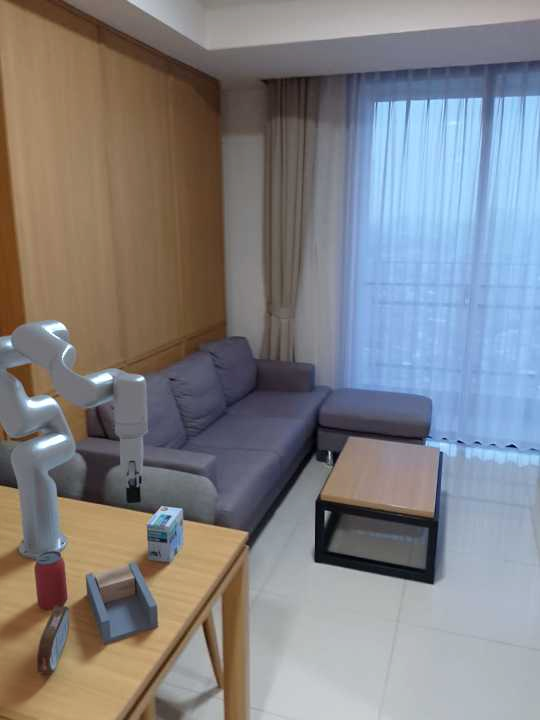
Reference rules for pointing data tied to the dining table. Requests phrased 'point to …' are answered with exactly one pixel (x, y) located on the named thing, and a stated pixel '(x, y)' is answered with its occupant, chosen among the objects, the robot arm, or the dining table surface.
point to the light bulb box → (165, 534)
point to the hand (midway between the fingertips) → (134, 492)
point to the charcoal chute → (123, 609)
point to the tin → (53, 640)
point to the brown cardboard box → (115, 583)
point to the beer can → (50, 580)
